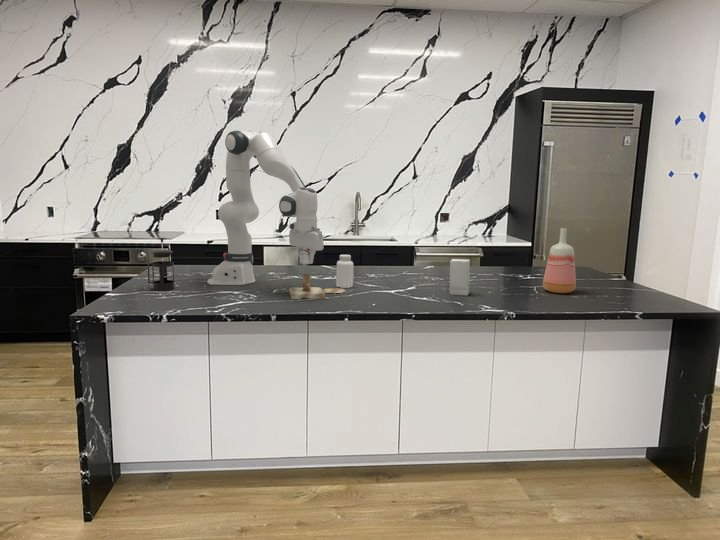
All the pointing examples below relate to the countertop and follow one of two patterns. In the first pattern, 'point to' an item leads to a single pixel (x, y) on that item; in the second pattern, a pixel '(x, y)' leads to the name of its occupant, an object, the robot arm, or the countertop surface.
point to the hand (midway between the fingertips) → (305, 258)
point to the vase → (560, 267)
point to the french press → (162, 270)
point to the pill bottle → (344, 272)
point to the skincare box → (459, 276)
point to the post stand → (306, 290)
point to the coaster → (333, 290)
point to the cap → (305, 257)
